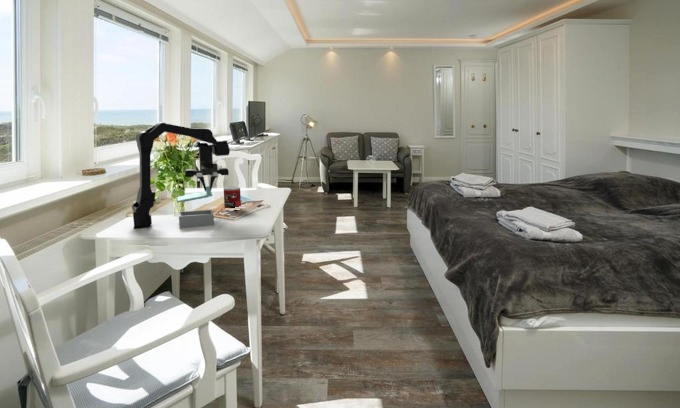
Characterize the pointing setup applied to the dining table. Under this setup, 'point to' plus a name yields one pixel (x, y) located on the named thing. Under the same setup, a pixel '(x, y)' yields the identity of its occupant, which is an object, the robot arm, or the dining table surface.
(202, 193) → the lid
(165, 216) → the dining table surface
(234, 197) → the canned food
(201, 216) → the tub
